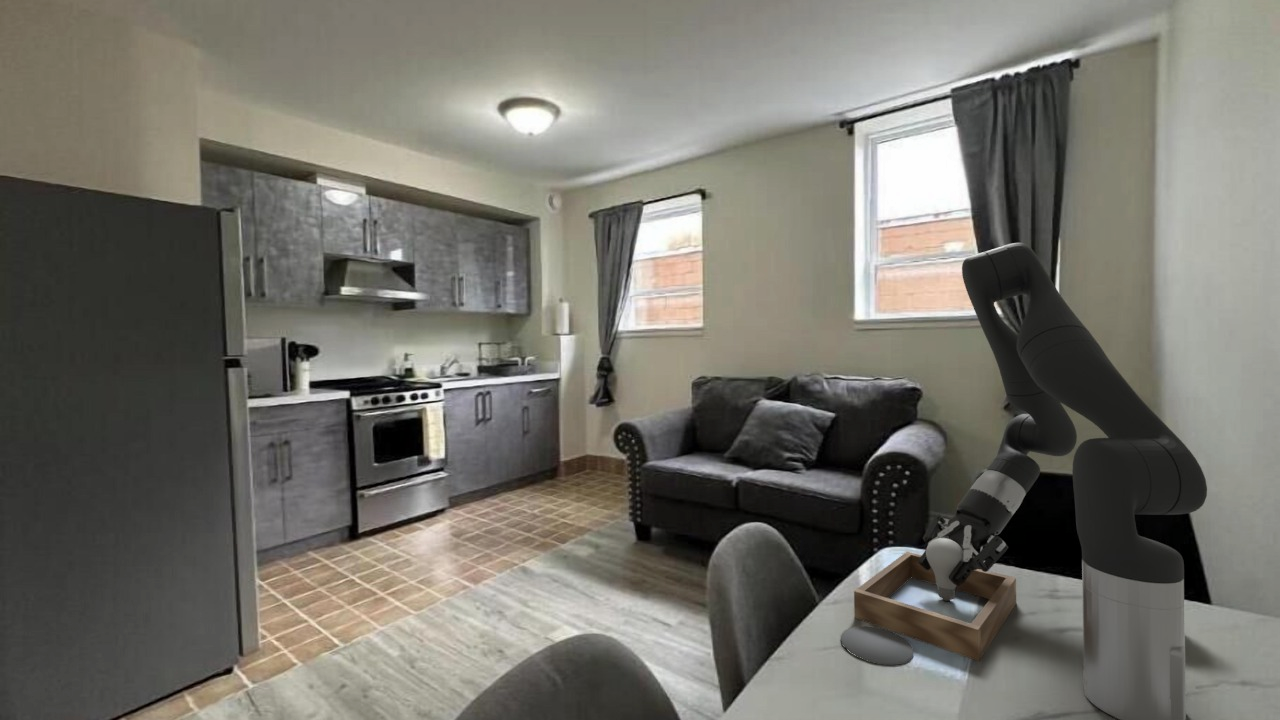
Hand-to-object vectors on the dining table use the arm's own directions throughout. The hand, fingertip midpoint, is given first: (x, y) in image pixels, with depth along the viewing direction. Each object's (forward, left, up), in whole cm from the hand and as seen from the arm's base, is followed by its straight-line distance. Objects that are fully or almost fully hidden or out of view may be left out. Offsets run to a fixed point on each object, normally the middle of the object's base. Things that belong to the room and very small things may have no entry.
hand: (937, 574), depth 93 cm
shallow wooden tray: (-1, +4, -5) cm, 6 cm away
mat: (+2, +22, -5) cm, 22 cm away
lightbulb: (-1, -1, -5) cm, 5 cm away
